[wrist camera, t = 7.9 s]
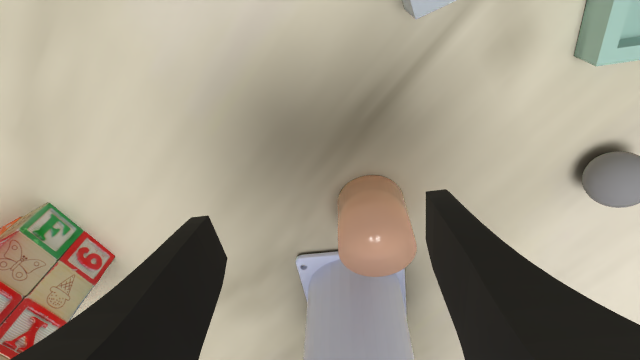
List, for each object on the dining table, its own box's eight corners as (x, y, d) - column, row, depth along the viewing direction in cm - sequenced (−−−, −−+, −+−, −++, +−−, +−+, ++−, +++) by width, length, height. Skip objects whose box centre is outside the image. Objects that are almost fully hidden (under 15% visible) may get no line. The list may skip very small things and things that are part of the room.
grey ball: (619, 183, 22) (659, 216, 19) (565, 189, 22) (596, 222, 20) (637, 138, 20) (682, 167, 17) (577, 145, 20) (613, 175, 18)
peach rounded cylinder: (404, 223, 24) (417, 273, 21) (341, 229, 25) (343, 279, 21) (402, 171, 22) (416, 217, 18) (333, 179, 22) (333, 225, 19)
